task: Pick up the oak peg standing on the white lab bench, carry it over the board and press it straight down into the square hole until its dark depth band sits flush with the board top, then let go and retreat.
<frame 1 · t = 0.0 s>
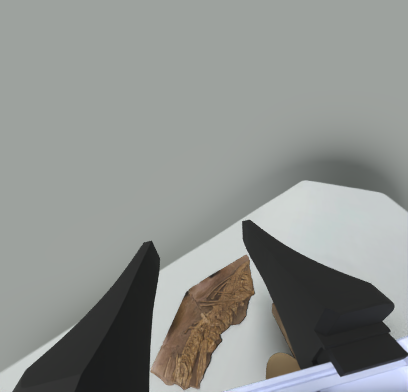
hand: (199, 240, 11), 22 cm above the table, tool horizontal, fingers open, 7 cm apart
wooden fragment: (215, 302, 28), on the table
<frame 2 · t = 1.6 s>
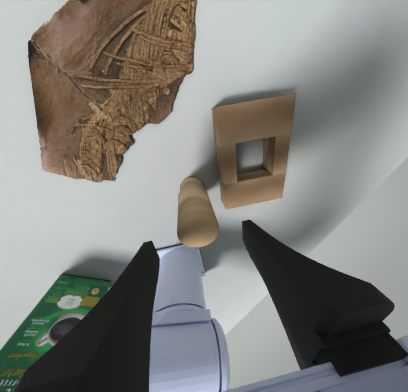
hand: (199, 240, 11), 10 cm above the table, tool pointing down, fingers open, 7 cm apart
coffee box: (86, 280, 26), on the table
wooden fragment: (115, 77, 14), on the table
peg: (191, 187, 20), on the table
board: (246, 155, 19), on the table
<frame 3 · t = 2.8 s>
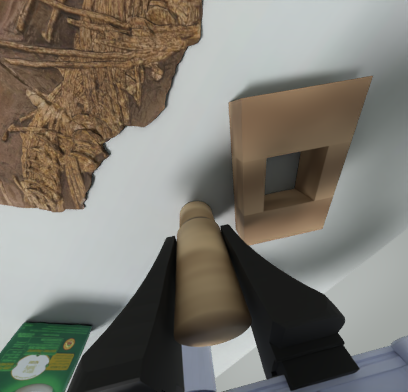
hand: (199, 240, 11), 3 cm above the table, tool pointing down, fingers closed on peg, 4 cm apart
coffee box: (60, 325, 20), on the table
wooden fragment: (70, 50, 8), on the table
peg: (195, 214, 14), on the table, touching gripper
board: (274, 171, 13), on the table
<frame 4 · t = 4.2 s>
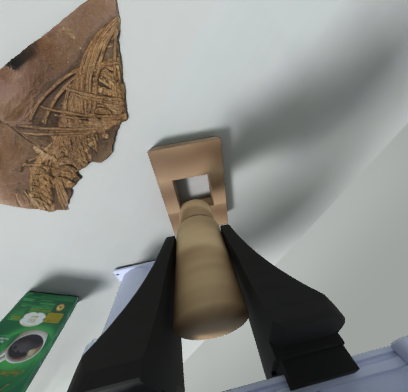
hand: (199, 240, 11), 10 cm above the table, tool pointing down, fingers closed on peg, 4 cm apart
coffee box: (54, 296, 27), on the table
wooden fragment: (57, 124, 16), on the table
peg: (195, 213, 15), point 7 cm above the table, touching gripper
board: (193, 185, 21), on the table
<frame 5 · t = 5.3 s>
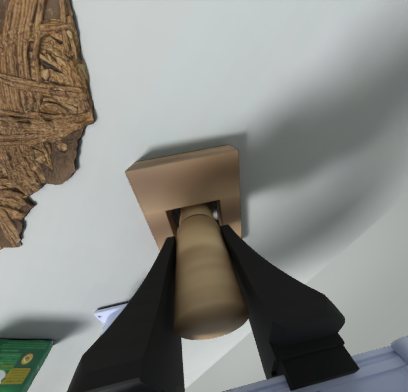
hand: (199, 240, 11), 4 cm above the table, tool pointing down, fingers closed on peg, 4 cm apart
coffee box: (22, 340, 22), on the table
peg: (195, 213, 15), point 1 cm above the table, touching gripper
board: (195, 210, 15), on the table
when the fingers open (4 cm above the table, at t = 5.8 s): peg stays where it is, resting in board.
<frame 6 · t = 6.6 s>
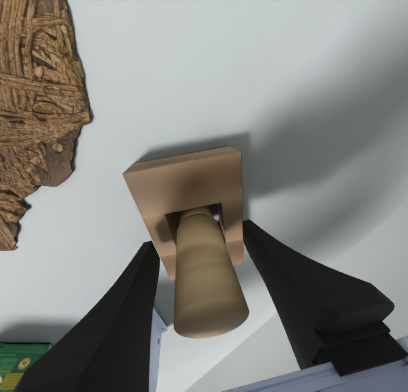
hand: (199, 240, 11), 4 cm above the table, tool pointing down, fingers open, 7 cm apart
coffee box: (19, 344, 22), on the table
peg: (195, 212, 15), resting in board
board: (195, 213, 15), on the table
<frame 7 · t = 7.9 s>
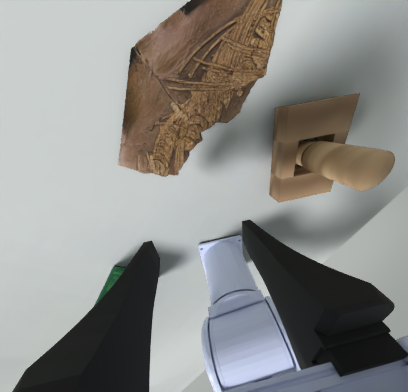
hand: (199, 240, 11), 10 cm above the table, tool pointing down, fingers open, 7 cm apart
coffee box: (134, 272, 27), on the table
wooden fragment: (195, 80, 15), on the table
peg: (299, 151, 20), resting in board
board: (299, 152, 20), on the table
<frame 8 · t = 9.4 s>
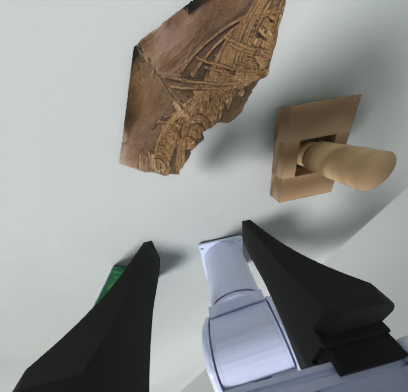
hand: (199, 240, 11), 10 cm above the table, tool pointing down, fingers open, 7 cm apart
coffee box: (134, 271, 27), on the table
wooden fragment: (197, 80, 15), on the table
peg: (300, 152, 20), resting in board
board: (300, 152, 20), on the table
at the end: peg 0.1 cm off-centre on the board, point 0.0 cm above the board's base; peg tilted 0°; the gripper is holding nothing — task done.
